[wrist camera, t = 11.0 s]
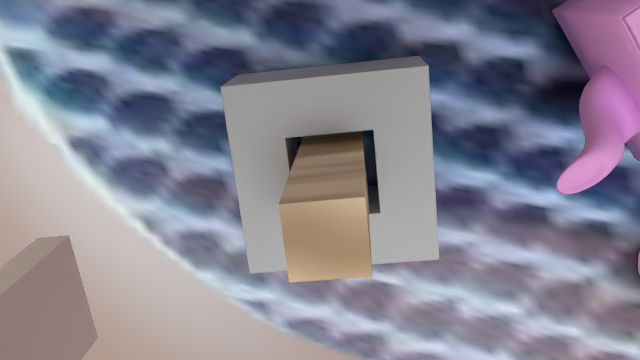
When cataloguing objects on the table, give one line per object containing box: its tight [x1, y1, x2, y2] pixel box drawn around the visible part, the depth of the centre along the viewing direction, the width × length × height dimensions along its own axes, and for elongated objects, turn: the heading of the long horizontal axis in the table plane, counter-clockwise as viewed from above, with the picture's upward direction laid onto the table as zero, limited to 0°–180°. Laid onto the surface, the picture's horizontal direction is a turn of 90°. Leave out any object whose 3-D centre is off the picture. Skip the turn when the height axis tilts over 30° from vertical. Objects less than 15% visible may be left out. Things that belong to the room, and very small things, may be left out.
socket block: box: [221, 56, 439, 273], centre depth 35 cm, size 11×11×5 cm
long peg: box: [278, 131, 372, 282], centre depth 31 cm, size 4×4×14 cm
